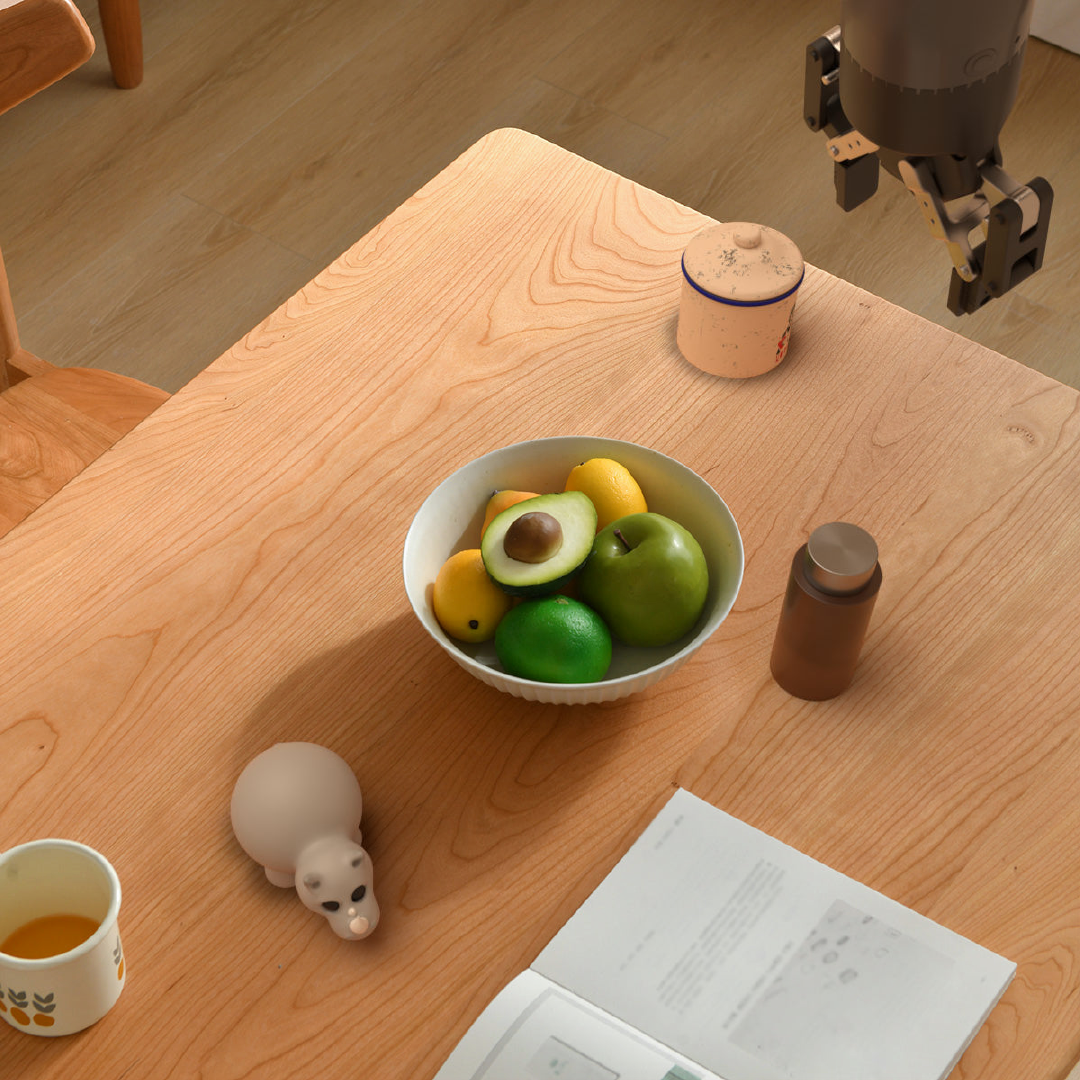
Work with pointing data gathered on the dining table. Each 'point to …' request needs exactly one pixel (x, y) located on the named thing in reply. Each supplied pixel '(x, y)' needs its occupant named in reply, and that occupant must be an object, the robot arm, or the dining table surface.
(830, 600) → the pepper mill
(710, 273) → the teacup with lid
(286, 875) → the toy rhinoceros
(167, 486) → the dining table surface
